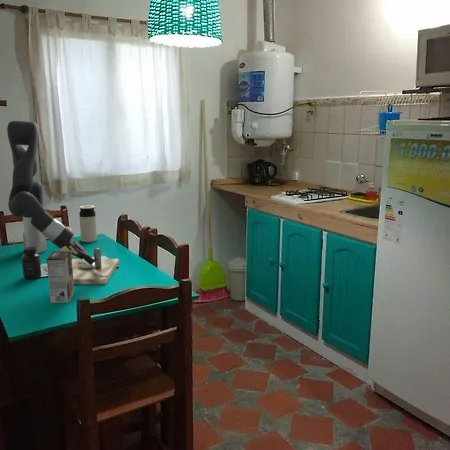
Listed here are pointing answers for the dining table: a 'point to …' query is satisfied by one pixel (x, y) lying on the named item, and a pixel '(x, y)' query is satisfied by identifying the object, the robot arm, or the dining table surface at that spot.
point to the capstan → (97, 261)
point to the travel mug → (88, 223)
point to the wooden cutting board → (93, 272)
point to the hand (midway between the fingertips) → (92, 262)
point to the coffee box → (60, 276)
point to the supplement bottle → (31, 263)
